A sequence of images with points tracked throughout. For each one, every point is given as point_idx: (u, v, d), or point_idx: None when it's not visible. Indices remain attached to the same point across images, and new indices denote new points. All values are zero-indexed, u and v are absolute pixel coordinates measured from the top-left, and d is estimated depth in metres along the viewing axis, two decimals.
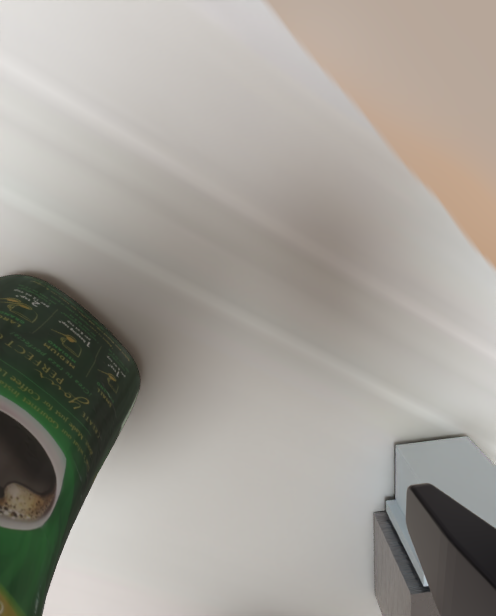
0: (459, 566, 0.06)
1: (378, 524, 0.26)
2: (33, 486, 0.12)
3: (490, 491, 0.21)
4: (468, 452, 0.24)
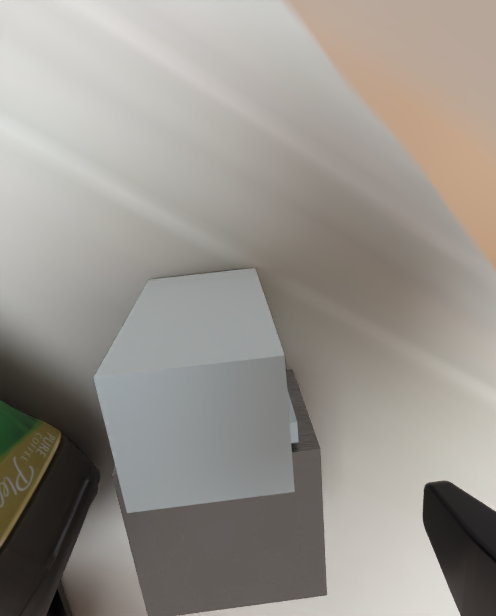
0: (481, 563, 0.06)
1: None
2: None
3: (224, 308, 0.13)
4: (239, 279, 0.16)
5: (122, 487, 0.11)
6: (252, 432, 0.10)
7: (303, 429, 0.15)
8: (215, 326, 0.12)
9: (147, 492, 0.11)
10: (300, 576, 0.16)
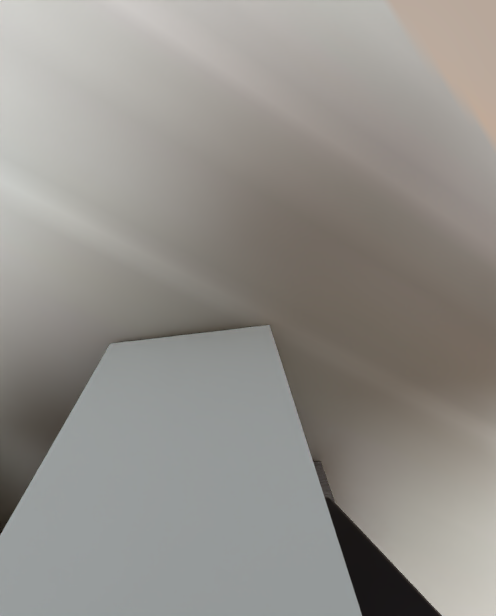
0: None
1: None
2: None
3: (224, 427, 0.07)
4: (246, 350, 0.10)
5: None
6: None
7: None
8: (206, 488, 0.06)
9: None
10: None
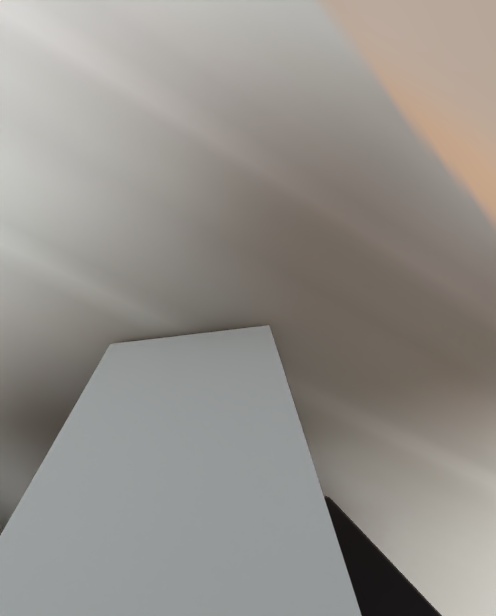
0: None
1: None
2: None
3: (224, 427, 0.07)
4: (246, 350, 0.10)
5: None
6: None
7: None
8: (206, 489, 0.06)
9: None
10: None
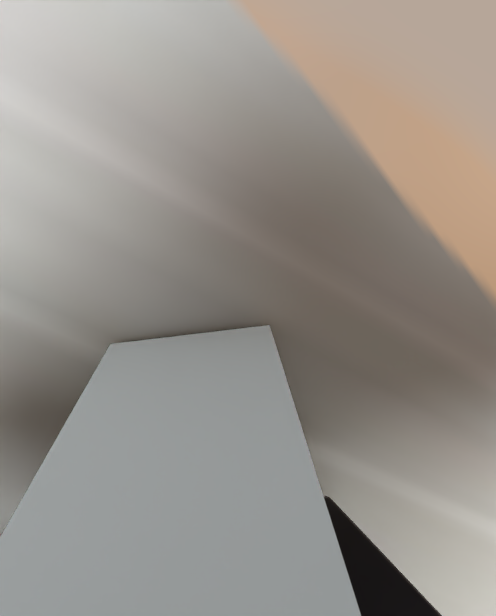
0: None
1: None
2: None
3: (224, 427, 0.08)
4: (246, 350, 0.10)
5: None
6: None
7: None
8: (207, 489, 0.06)
9: None
10: None
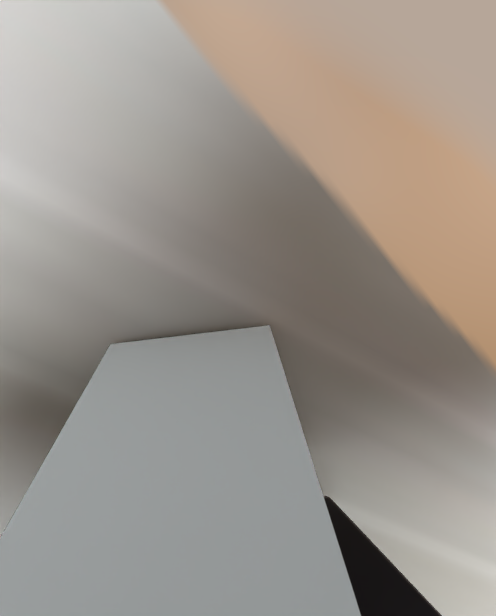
0: None
1: None
2: None
3: (224, 428, 0.08)
4: (246, 350, 0.10)
5: None
6: None
7: None
8: (207, 490, 0.06)
9: None
10: None
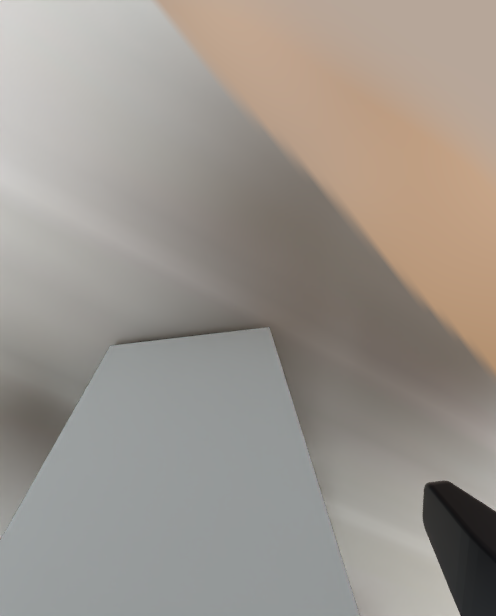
0: (481, 563, 0.06)
1: None
2: None
3: (224, 430, 0.08)
4: (246, 352, 0.10)
5: None
6: None
7: None
8: (206, 492, 0.06)
9: None
10: None
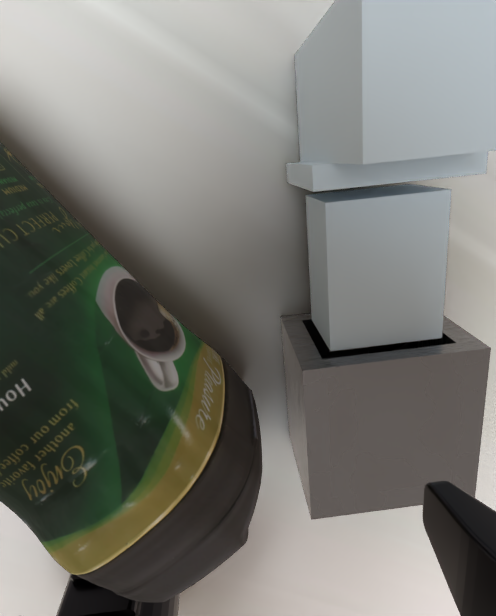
0: (481, 563, 0.06)
1: (283, 325, 0.20)
2: (154, 301, 0.16)
3: None
4: None
5: (364, 126, 0.10)
6: None
7: (465, 337, 0.17)
8: None
9: (388, 136, 0.10)
10: (453, 477, 0.18)
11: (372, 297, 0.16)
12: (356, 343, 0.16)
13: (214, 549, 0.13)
